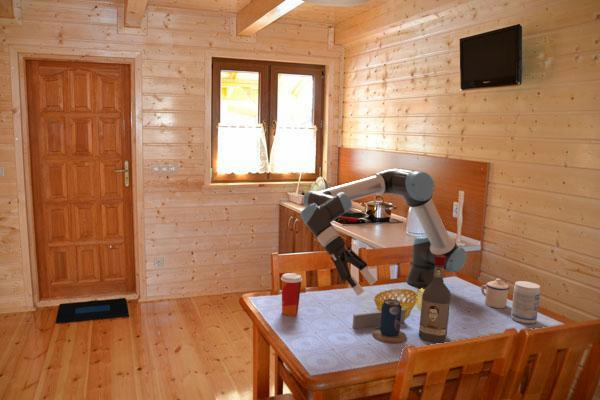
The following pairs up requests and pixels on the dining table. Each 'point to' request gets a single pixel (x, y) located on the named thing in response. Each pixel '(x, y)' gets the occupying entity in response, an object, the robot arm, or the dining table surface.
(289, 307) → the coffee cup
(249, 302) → the dining table surface
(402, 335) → the walnut coaster
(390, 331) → the soda can
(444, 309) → the liquor
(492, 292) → the teacup with lid
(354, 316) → the low wall
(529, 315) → the supplement tub
